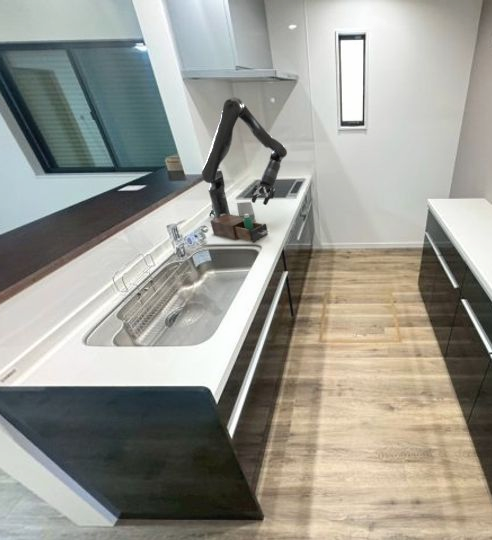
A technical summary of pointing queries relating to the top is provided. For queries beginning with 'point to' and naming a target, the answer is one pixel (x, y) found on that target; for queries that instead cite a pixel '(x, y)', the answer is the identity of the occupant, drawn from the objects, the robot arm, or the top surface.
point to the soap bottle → (248, 222)
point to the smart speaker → (246, 210)
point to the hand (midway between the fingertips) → (258, 203)
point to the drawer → (251, 232)
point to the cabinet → (226, 225)
